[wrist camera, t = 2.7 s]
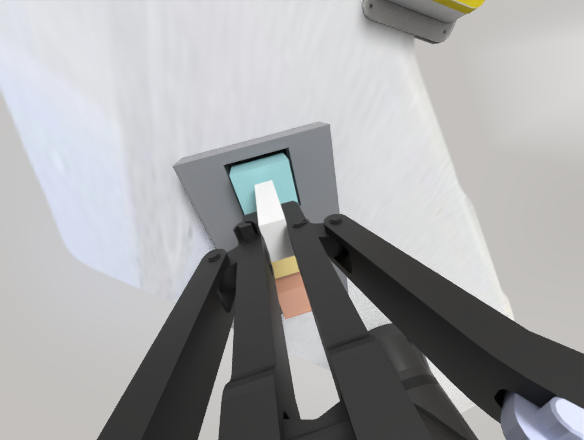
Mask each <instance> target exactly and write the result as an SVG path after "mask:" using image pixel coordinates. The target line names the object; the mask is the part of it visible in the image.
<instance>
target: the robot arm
mask: <svg viewBox="0 0 584 440" xmlns="http://www.w3.org/2000/svg"><path fill="white" fill-rule="evenodd" d="M254 186H255V195H256V205H257V211H256V212H253V213H249V214H246V215H245V216H244V218H243V222H240V223H239V224H237V225H236V226H235V227H234V229H233V231H234V233H235V235H236V238H237V240H238V246H237V247H236V248H234V249H232V250H230V251H228V252H226V251H225V250H224V249H215V250H212V251H210V252H209V253H207V254H206V255H205V256H204V257H203V258H202V260H201V262H200V264H199V265H198V267H197V269H196V270H195V272H194V274H193V276H192V277H191V279H190V281H189V282H188V284H187V286H186V288H185V289H184V291H183V293H182V294H181V296H180V298H179V300H178V301H177V303H176V305H175V306H174V308H173V310H172V312H171V313H170V315H169V317H168V319H167V320H166V322H165V324H164V325H163V327H162V329H161V331H160V332H159V334H158V336H157V338H156V339H155V341H154V343H153V344H152V346H151V348H150V349H149V351H148V353H147V355H146V356H145V358H144V360H143V361H142V363H141V365H140V367H139V368H138V370H137V372H136V373H135V375H134V377H133V379H132V380H131V382H130V384H129V385H128V387H127V389H126V391H125V392H124V394H123V396H122V397H121V399H120V401H119V403H118V404H117V406H116V408H115V410H114V411H113V413H112V415H111V416H110V418H109V420H108V421H107V423H106V425H105V427H104V428H103V430H102V432H101V433H100V435H99V437H98V439H97V440H198V436H199V433H200V430H201V426H202V423H203V419H204V416H205V413H206V409H207V406H208V402H209V399H210V396H211V393H212V389H213V386H214V382H215V379H216V375H217V372H218V369H219V366H220V362H221V359H222V355H223V352H224V349H225V345H226V342H227V339H228V335H229V332H230V328H231V325H232V322H233V318H234V315H235V318H234V339H233V358H232V375H231V380H230V382H228V383H227V384H226V385H225V387H224V390H223V395H222V402H221V415H220V427H219V439H218V440H478V438H477V437H476V436H475V434H474V433H473V431H472V430H471V428H470V427H469V426H468V424H467V423H466V421H465V420H464V418H463V417H462V415H461V414H460V413H459V411H458V410H457V408H456V407H455V405H454V404H453V403H452V401H451V400H450V398H449V397H448V395H447V394H446V393H445V391H444V390H443V388H442V387H441V386H440V384H439V383H438V381H437V380H436V378H435V377H434V375H433V374H432V372H431V370H430V368H429V365H428V362H427V360H426V357H427V358H428V359H429V360H430V361H431V362H432V363H433V364H434V365H435V366H436V367H437V368H438V369H439V370H440V371H441V372H442V373H443V374H444V375H445V376H446V377H447V378H448V379H449V380H450V381H451V382H452V383H453V384H454V385H455V386H456V387H457V388H458V389H459V390H460V391H461V392H463V393H464V394H465V395H466V396H467V397H468V398H469V399H470V400H471V401H472V402H474V403H475V404H476V405H477V406H479V407H480V408H481V409H482V410H483V411H485V412H486V413H487V414H489V415H490V416H491V417H492V418H494V419H495V420H496V421H498V422H499V423H500V424H501V428H502V430H503V434H504V436H505V438H506V440H584V354H583V353H580V352H578V351H575V350H573V349H571V348H569V347H566V346H564V345H561V344H559V343H557V342H554V341H552V340H549V339H547V338H545V337H542V336H540V335H538V334H535V333H533V332H530V331H528V330H527V329H525V328H524V327H522V326H520V325H519V324H517V323H516V322H514V321H513V320H511V319H509V318H508V317H506V316H505V315H503V314H501V313H500V312H498V311H497V310H495V309H493V308H492V307H490V306H489V305H487V304H485V303H484V302H482V301H481V300H479V299H477V298H476V297H474V296H473V295H471V294H469V293H468V292H466V291H465V290H463V289H462V288H460V287H458V286H457V285H455V284H454V283H452V282H450V281H449V280H447V279H446V278H444V277H442V276H441V275H439V274H438V273H436V272H434V271H433V270H431V269H430V268H428V267H426V266H425V265H423V264H422V263H420V262H418V261H417V260H415V259H414V258H412V257H411V256H409V255H407V254H406V253H404V252H403V251H401V250H399V249H398V248H396V247H395V246H393V245H391V244H390V243H388V242H387V241H385V240H383V239H382V238H380V237H379V236H377V235H375V234H374V233H372V232H371V231H369V230H367V229H366V228H364V227H363V226H361V225H360V224H358V223H356V222H355V221H353V220H352V219H350V218H348V217H347V216H345V215H342V214H332V215H329V216H327V217H326V218H325V219H324V223H310V221H309V220H308V219H306V218H305V216H304V214H303V212H302V210H301V208H300V207H299V204H298V203H297V202H295V201H289V202H286V203H282V204H280V202H279V199H278V196H277V193H276V190H275V187H274V184H273V181H272V180H270V181H267V182H263V183H259V184H256V185H254ZM291 256H295V258H296V261H297V265H298V269H299V271H300V274H301V277H302V280H303V284H304V287H305V290H306V293H307V296H308V299H309V303H310V306H311V309H312V312H313V315H314V319H315V322H316V325H317V328H318V331H319V335H320V338H321V341H322V344H323V347H324V351H325V354H326V357H327V360H328V363H329V366H330V370H331V373H332V376H333V379H334V382H335V386H336V389H337V392H338V396H339V399H340V402H339V403H337V404H336V405H335V406H333V407H332V408H331V409H330V410H328V411H327V412H326V413H324V414H323V415H322V416H320V417H319V418H317V419H315V420H301V419H300V415H299V411H298V407H297V404H296V400H295V395H294V389H293V383H292V377H291V371H290V365H289V359H288V353H287V348H286V342H285V336H284V330H283V324H282V318H281V312H280V306H279V300H278V294H277V288H276V282H275V276H274V270H273V266H272V264H271V261H272V262H275V261H278V260H281V259H285V258H288V257H291ZM329 258H330V259H329ZM330 260H331V261H332V262H333V263H334V264H335V265H336V266H337V267H338V268H339V269H340V270H341V271H342V272H343V273H344V274H345V275H346V276H347V277H348V278H349V279H350V280H351V281H352V282H353V283H354V284H355V285H356V286H357V287H358V288H359V290H360V291H361V292H362V293H363V294H364V295H365V296H366V297H367V298H368V299H369V300H370V301H371V302H372V303H373V304H374V305H375V306H376V307H377V308H378V309H379V310H380V311H381V312H382V313H383V314H384V315H385V316H386V317H387V318H388V319H389V320H390V321H391V322H392V323H393V324H388V325H384V326H381V327H378V328H376V329H373V330H371V331H369V332H368V331H367V329H366V327H365V325H364V323H363V322H362V320H361V318H360V316H359V314H358V312H357V310H356V308H355V306H354V305H353V303H352V301H351V299H350V297H349V295H348V293H347V291H346V289H345V288H344V286H343V284H342V282H341V280H340V278H339V276H338V274H337V272H336V270H335V269H334V267H333V265H332V263H331V261H330ZM425 356H426V357H425Z"/></svg>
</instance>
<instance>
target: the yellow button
mask: <svg viewBox="0 0 584 440" xmlns="http://www.w3.org/2000/svg"><path fill="white" fill-rule="evenodd" d="M271 264H272V266H273V270H274V276H275V279H276V278H280V277H283V276H286V275H290V274H293V273H296V272H299V269H298V265H297V261H296V258H295V256H291V257H288V258H285V259H281V260H278V261H275V262H272V261H271Z"/></svg>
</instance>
